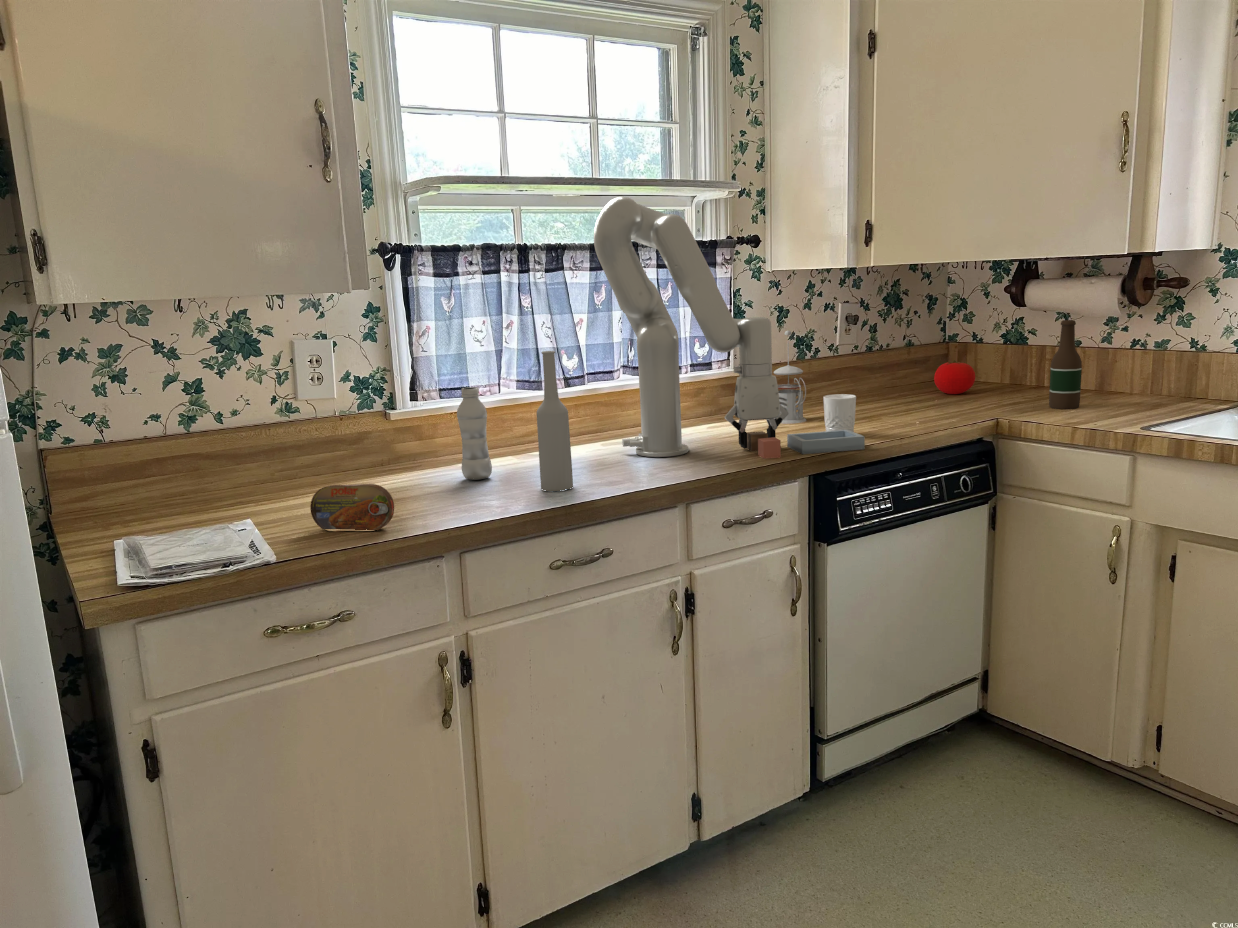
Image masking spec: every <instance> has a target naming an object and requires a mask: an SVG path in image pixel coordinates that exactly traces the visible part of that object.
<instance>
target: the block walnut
mask: <svg viewBox="0 0 1238 928" xmlns="http://www.w3.org/2000/svg"><path fill="white" fill-rule="evenodd" d="M746 432H747V450H748V449H749V450H748V451H749V452H758V439H760V438H768V434H767V432H765V431H763V430H760V431H746Z"/></svg>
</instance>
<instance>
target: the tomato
mask: <svg viewBox="0 0 1238 928" xmlns="http://www.w3.org/2000/svg"><path fill="white" fill-rule="evenodd" d="M933 381H934V384H935V386H936V387H937V389H938V390H939V391H940V392H942V393H943V394H944V393H945V394H947V395H961V394H963V393H965V392H967V391H968V390H970V389H971V388H972V387H973V386H974V384H975V381H976V371H975V370H974V368H973V366H971V365H970V364H968V363H967V362H962V361H957V360H953V361H947V362H946V361H945V362H944V363H942V364H941V365H939V366H938V367H937V368H936V370H935V373H934V376H933Z"/></svg>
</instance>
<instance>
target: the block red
mask: <svg viewBox="0 0 1238 928" xmlns="http://www.w3.org/2000/svg"><path fill="white" fill-rule="evenodd" d="M781 440H782V439H781ZM781 440H780V438H777V437H776V438H775V437H772V438H760V439H758V451H757V456H758V455H759V457H760V458H762V459H766V460H767V459H776V458H777V459H778V458H781V457H782V455H781V454H782V451H781V448H782V447H781V445H782V444H781V442H782V441H781Z"/></svg>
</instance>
